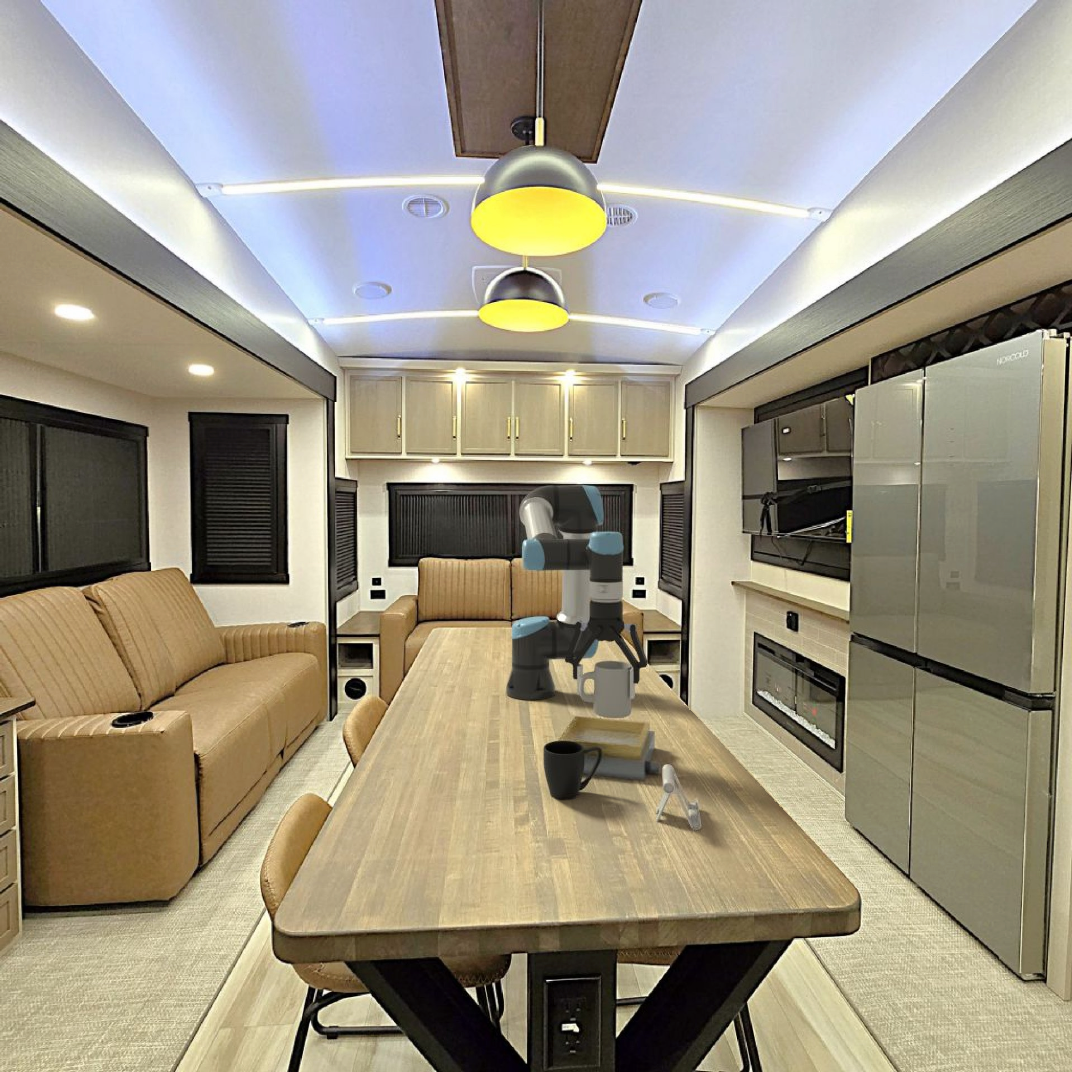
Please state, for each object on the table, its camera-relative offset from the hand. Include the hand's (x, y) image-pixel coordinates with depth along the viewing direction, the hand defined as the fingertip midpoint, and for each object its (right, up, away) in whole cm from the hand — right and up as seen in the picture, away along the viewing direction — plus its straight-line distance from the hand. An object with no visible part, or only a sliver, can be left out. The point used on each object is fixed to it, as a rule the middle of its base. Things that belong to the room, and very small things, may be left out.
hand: (605, 695), depth 151 cm
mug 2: (0, -4, +1) cm, 4 cm away
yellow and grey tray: (+1, -15, 0) cm, 15 cm away
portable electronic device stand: (+10, -16, -28) cm, 34 cm away
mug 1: (-8, -16, -18) cm, 25 cm away
